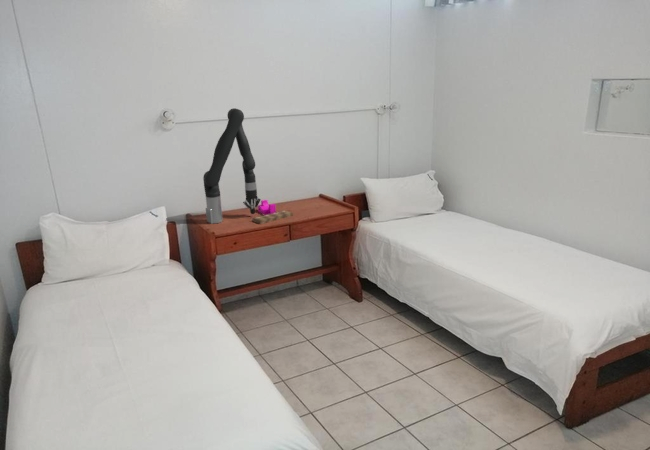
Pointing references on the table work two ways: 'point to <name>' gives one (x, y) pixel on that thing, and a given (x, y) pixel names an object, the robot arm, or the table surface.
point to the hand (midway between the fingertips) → (252, 213)
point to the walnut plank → (272, 217)
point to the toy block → (266, 207)
